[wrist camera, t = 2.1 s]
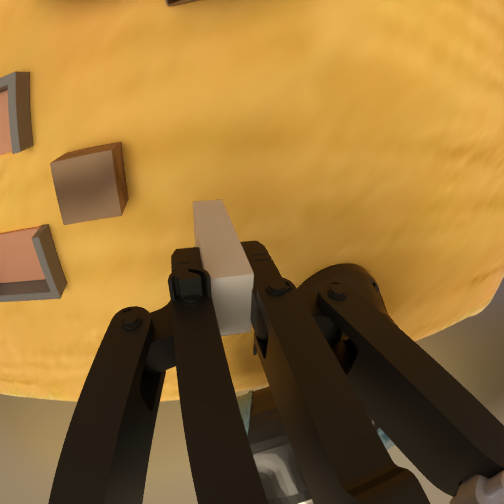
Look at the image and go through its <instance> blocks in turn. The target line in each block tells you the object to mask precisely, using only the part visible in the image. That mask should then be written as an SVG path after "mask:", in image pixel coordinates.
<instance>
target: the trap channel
mask: <svg viewBox="0 0 504 504" xmlns="http://www.w3.org/2000/svg"><path fill="white" fill-rule="evenodd" d="M7 89H8V90H7ZM5 90H6V91H5ZM0 92H1V93H0V155H1V154H4V153H7V152H11V151H12V152H13V154H15V153H18V152H21V151H23V150H25V149H27V148H29V147H31V146H33V138H32V128H31V115H30V92H29V72H14V73H11V74H9V75H6V76H4V77H2V78H0ZM66 284H67V282H66V279H65V276H64V274H63V271H62V268H61V265H60V262H59V259H58V256H57V252H56V249H55V246H54V242H53V239H52V235H51V232H50V228H49V224H47V225H41V226H40V227H34V228H28V229H22V230H16V231H11V232H5V233H0V302H10V301H28V300H45V299H61V296H62V294H63V291H64V289H65V286H66Z"/></svg>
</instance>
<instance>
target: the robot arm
mask: <svg viewBox="0 0 504 504" xmlns="http://www.w3.org/2000/svg"><path fill="white" fill-rule="evenodd" d="M193 216H194V232H195V247H193V248H183V249H176V250H175V251H174V253H173V254H172V256H171V264H172V273H171V274H170V275H169V278H168V285H169V291H170V297H171V300H170V302H169V303H168V304H167V305H166V306H164V307H163V308H161V309H159V310H157V311H154V312H151V313H149V312H148V311H147V310H146V309H144V308H141V307H137V306H135V307H127V308H124V309H122V310H120V311H119V312H117V313H116V314H115V315H114V317H113V318H112V320H111V322H110V324H109V327H108V329H107V331H106V333H105V335H104V338H103V340H102V342H101V345H100V347H99V349H98V351H97V354H96V356H95V359H94V361H93V363H92V366H91V368H90V371H89V373H88V376H87V378H86V381H85V383H84V386H83V389H82V391H81V394H80V397H79V399H78V402H77V405H76V408H75V411H74V414H73V417H72V420H71V422H70V426H69V429H68V432H67V435H66V438H65V441H64V444H63V448H62V451H61V455H60V458H59V462H58V465H57V469H56V473H55V477H54V481H53V485H52V490H51V494H50V498H49V503H48V504H142V502H143V494H144V488H145V481H146V474H147V468H148V461H149V455H150V450H151V444H152V438H153V433H154V427H155V422H156V417H157V412H158V407H159V402H160V397H161V392H162V388H163V383H164V378H165V374H166V370H167V369H170V368H172V367H175V366H176V370H177V379H178V388H179V396H180V404H181V412H182V419H183V425H184V432H185V439H186V445H187V450H188V456H189V461H190V467H191V472H192V477H193V482H194V486H195V492H196V496H197V501H198V504H430V502H429V500H428V498H427V496H426V494H425V492H424V490H423V489H422V487H421V485H420V483H419V481H418V479H417V478H416V477H415V475H414V474H413V473H412V472H411V471H409V470H408V469H405V468H401V467H398V466H397V465H396V464H394V462H393V461H392V459H391V457H390V455H389V453H388V452H387V450H388V449H389V448H391V447H392V446H394V445H396V446H397V447H398V448H399V449H400V450H401V451H402V453H403V454H404V455H405V456H406V457H407V458H408V459H409V460H410V461H411V462H412V463H413V464H414V465H415V466H416V468H417V469H418V470H419V471H420V472H421V473H422V474H423V475H424V476H425V477H426V478H427V479H428V480H429V481H430V482H431V483H432V484H433V485H435V486H436V487H437V488H439V489H440V490H442V491H443V492H444V493H446V494H449V495H451V496H453V498H452V499H451V501H450V504H504V426H503V425H502V424H501V423H500V422H499V421H498V420H497V419H496V418H495V417H494V416H493V415H492V414H491V413H490V412H489V411H488V410H487V409H486V408H485V407H484V406H483V405H482V404H481V403H480V402H479V401H478V400H477V399H476V398H475V397H474V396H473V395H472V394H471V393H470V392H469V391H468V390H467V389H465V388H464V387H463V386H462V385H461V384H460V383H459V382H458V381H457V380H456V379H455V378H454V377H453V376H452V375H450V374H449V373H448V372H447V371H446V370H445V369H444V368H443V367H442V366H441V365H440V364H438V363H437V362H436V361H435V360H434V359H433V358H432V357H431V356H430V355H429V354H428V353H426V352H425V351H424V350H423V349H422V348H421V347H420V346H419V345H417V344H416V343H415V342H414V341H413V340H412V339H411V338H410V337H408V336H407V335H406V334H405V333H404V332H403V331H402V330H400V329H399V327H398V326H397V325H396V324H395V323H394V321H393V320H392V319H391V317H390V316H389V315H388V313H387V310H386V307H385V305H384V302H383V299H382V296H381V294H380V291H379V288H378V285H377V283H376V281H375V280H374V278H373V277H372V276H371V275H370V274H369V273H368V272H367V271H366V270H365V269H364V268H362V267H360V266H358V265H354V264H340V265H335V266H332V267H329V268H326V269H324V270H322V271H320V272H318V273H316V274H315V275H313V276H312V277H310V278H309V279H308V280H306V281H305V282H304V283H303V284H302V285H301V286H300V287H299V288H298V289H297V288H296V287H295V285H294V284H293V283H292V282H291V281H289V280H287V279H285V278H282V276H281V275H280V273H279V271H278V269H277V267H276V266H275V264H274V262H273V260H271V257H270V255H269V254H268V251H267V250H266V248H265V246H264V245H262V244H261V243H259V242H258V241H247V242H240V241H239V238H238V236H237V234H236V231H235V229H234V227H233V224H232V222H231V220H230V217H229V215H228V213H227V210H226V208H225V206H224V203H223V201H222V199H221V200H208V201H195V202H193ZM251 323H252V326H253V328H254V331H255V332H254V347H253V354H254V355H256V354H257V351H258V354H259V357H260V360H261V363H262V366H263V369H264V372H265V374H266V377H267V380H268V383H269V387H266V388H263V389H260V390H257V391H253V390H252V391H249V392H248V393H247V394H244V395H241V396H239V397H236V394H235V390H234V387H233V383H232V379H231V375H230V371H229V367H228V363H227V359H226V355H225V351H224V347H223V343H222V339H221V336H226V335H233V334H240V333H246V332H251Z"/></svg>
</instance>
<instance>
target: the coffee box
mask: <svg viewBox="0 0 504 504" xmlns="http://www.w3.org/2000/svg"><path fill="white" fill-rule="evenodd" d="M165 1H166V4H167V6H174V5H178V4H183V3H187V2H192V1H197V0H165Z"/></svg>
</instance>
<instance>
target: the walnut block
mask: <svg viewBox="0 0 504 504" xmlns="http://www.w3.org/2000/svg"><path fill="white" fill-rule="evenodd" d="M50 165H51V171H52V176H53V181H54V186H55V191H56V195H57V200H58V204H59V208H60V212H61V216H62V220H63V224H64V225H67V224H73V223H79V222H85V221H91V220H97V219H104V218H110V217H117V216H122V214H123V211H124V209H125V206H126V204H127V201H128V193H127V186H126V179H125V172H124V164H123V156H122V147H121V142H117V143H111V144H106V145H101V146H96V147H91V148H86V149H81V150H77V151H72V152H68V153H65V154H64V155H62V156H61V157H59V158H57V159H56V160H54V161H53V162H51V163H50Z"/></svg>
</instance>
